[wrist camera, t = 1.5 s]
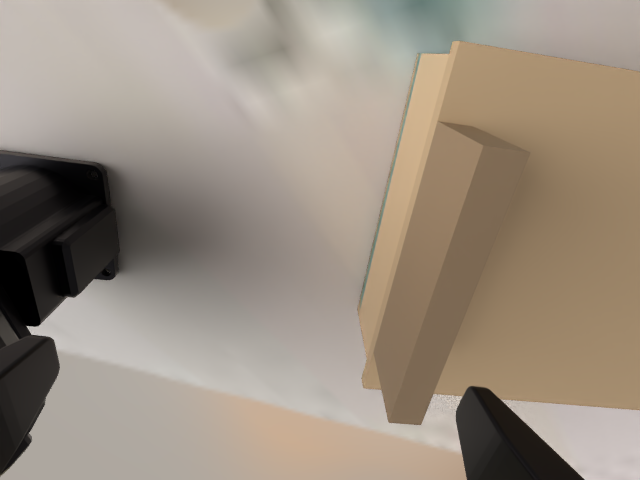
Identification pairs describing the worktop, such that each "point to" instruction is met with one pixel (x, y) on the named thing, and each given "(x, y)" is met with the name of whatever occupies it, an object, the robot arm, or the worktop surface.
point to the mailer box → (400, 186)
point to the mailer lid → (518, 240)
